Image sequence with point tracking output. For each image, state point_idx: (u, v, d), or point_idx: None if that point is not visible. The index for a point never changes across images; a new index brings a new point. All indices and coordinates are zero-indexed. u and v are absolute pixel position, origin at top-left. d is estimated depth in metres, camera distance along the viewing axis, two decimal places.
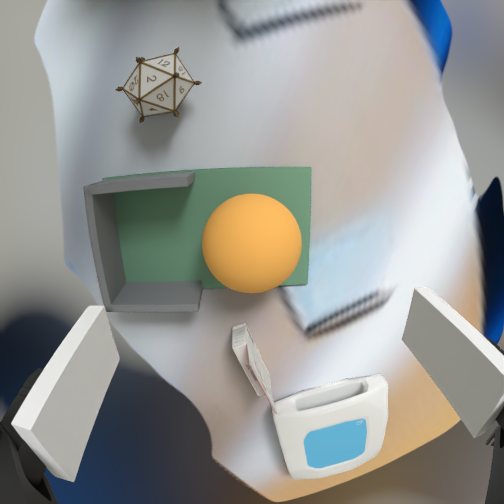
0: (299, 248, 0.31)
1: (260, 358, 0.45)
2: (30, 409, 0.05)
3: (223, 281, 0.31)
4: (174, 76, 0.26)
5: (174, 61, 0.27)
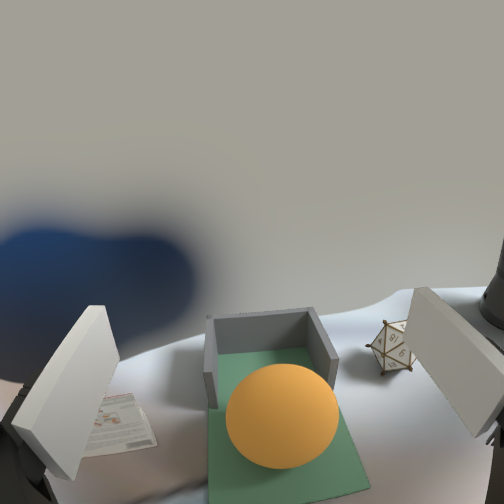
0: (294, 440, 0.21)
1: (103, 448, 0.25)
2: (30, 409, 0.05)
3: (248, 375, 0.28)
4: None
5: None
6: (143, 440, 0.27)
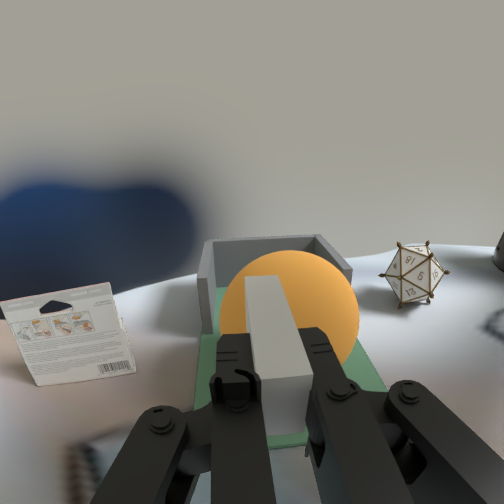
0: (306, 326, 0.18)
1: (71, 371, 0.23)
2: (269, 361, 0.08)
3: None
4: (429, 255, 0.31)
5: (439, 266, 0.32)
6: (119, 361, 0.24)
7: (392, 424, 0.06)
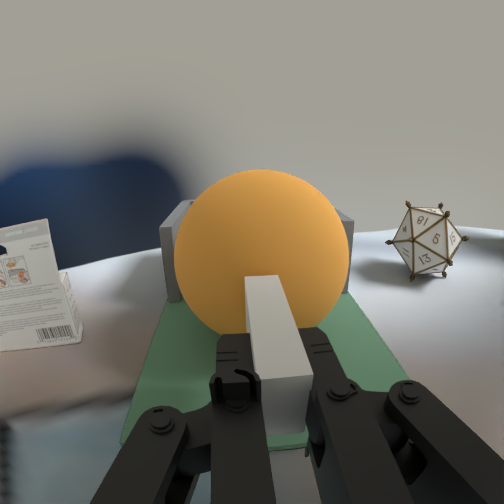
0: (266, 208, 0.14)
1: (8, 336, 0.17)
2: (269, 361, 0.08)
3: None
4: (445, 213, 0.25)
5: (456, 230, 0.26)
6: (60, 326, 0.18)
7: (392, 424, 0.06)
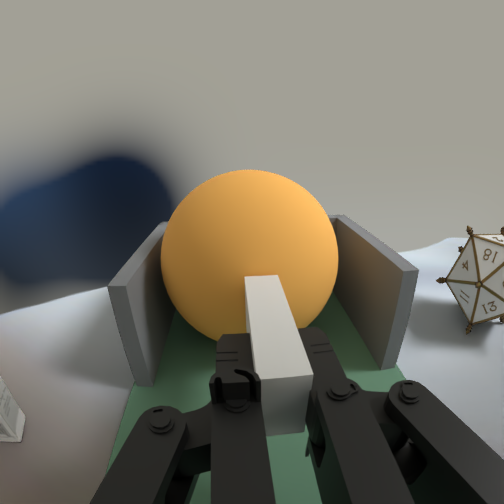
0: None
1: None
2: (269, 361, 0.08)
3: None
4: None
5: None
6: None
7: (392, 424, 0.06)
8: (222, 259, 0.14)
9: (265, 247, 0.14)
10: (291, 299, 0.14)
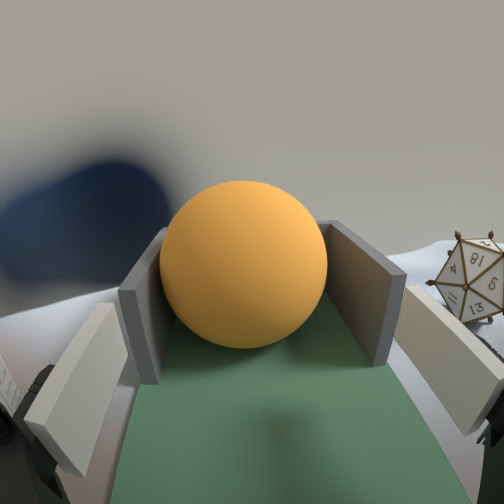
0: None
1: None
2: (43, 404, 0.06)
3: None
4: None
5: None
6: None
7: None
8: (212, 262, 0.15)
9: (251, 251, 0.15)
10: (277, 300, 0.15)
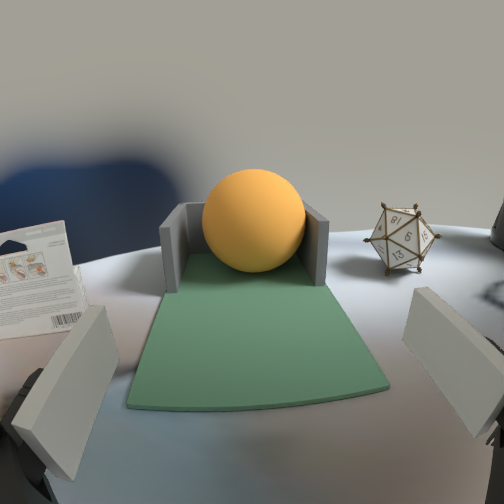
0: None
1: (25, 323, 0.20)
2: (30, 409, 0.05)
3: None
4: (416, 213, 0.29)
5: (428, 228, 0.30)
6: (73, 313, 0.22)
7: None
8: (249, 205, 0.27)
9: (272, 208, 0.27)
10: (273, 240, 0.28)
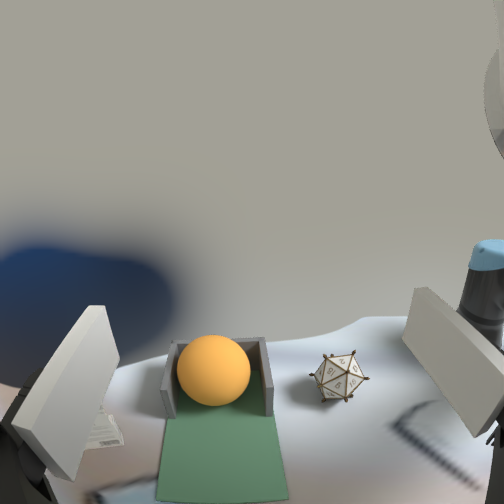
0: None
1: None
2: (30, 409, 0.05)
3: None
4: (346, 370, 0.39)
5: (358, 375, 0.40)
6: (112, 440, 0.32)
7: None
8: (200, 382, 0.37)
9: (214, 380, 0.37)
10: (223, 395, 0.38)
